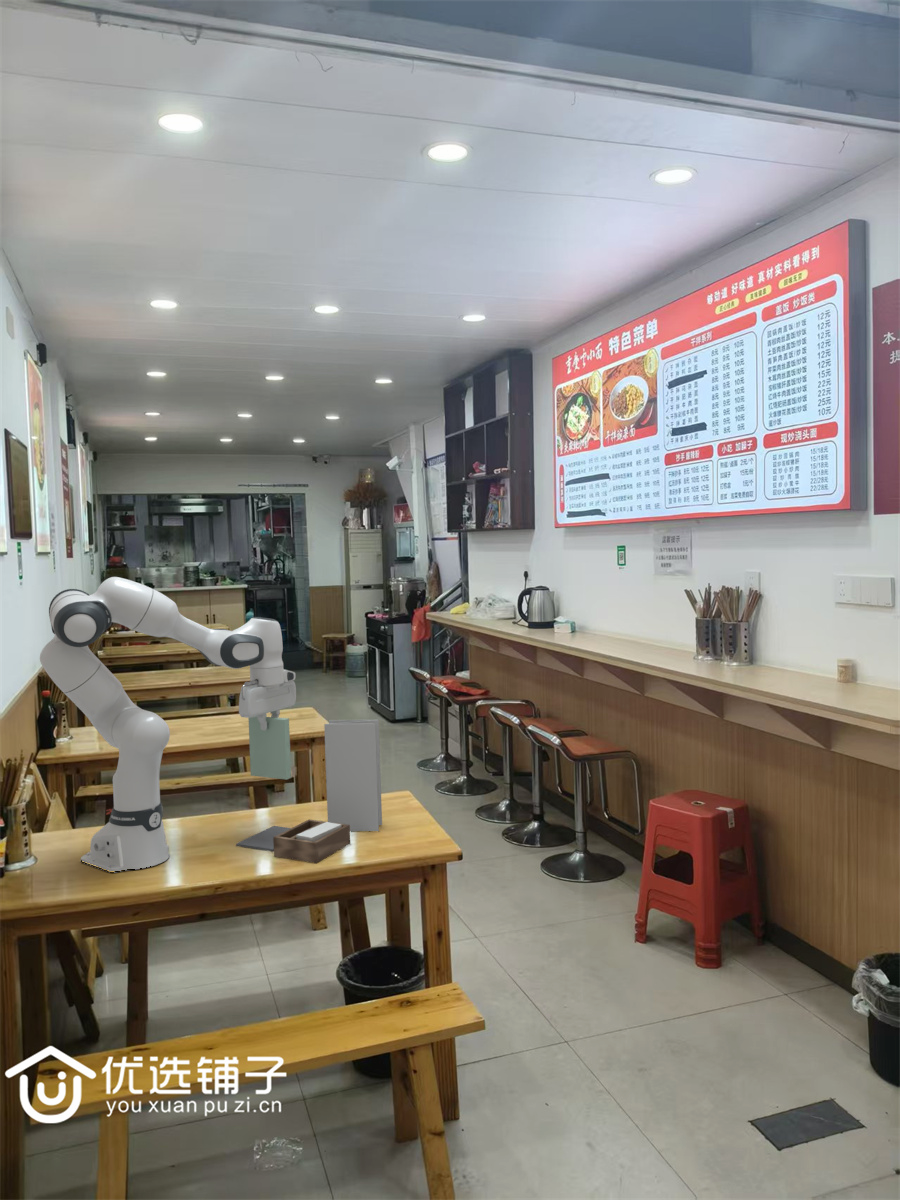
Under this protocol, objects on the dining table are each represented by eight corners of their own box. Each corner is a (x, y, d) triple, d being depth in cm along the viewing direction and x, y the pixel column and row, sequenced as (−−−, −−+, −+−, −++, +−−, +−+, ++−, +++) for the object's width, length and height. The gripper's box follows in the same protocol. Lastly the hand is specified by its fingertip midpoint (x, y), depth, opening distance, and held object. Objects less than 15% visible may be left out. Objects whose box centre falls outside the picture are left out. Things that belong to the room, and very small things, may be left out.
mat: (236, 845, 226) (236, 843, 226) (273, 827, 241) (273, 825, 241) (272, 851, 221) (272, 849, 221) (309, 832, 235) (309, 830, 235)
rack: (274, 856, 217) (273, 837, 217) (309, 837, 231) (309, 819, 231) (316, 863, 212) (315, 843, 211) (350, 843, 226) (349, 824, 225)
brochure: (382, 825, 240) (378, 719, 239) (378, 831, 235) (375, 723, 233) (332, 825, 242) (329, 720, 240) (328, 831, 236) (324, 724, 234)
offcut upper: (296, 846, 217) (296, 834, 216) (326, 833, 227) (326, 821, 227) (311, 849, 214) (311, 837, 214) (341, 835, 224) (341, 824, 224)
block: (286, 779, 226) (284, 719, 225) (250, 775, 232) (248, 717, 231) (291, 777, 228) (288, 718, 227) (255, 773, 233) (253, 715, 233)
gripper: (251, 683, 218) (253, 737, 218) (299, 672, 236) (301, 722, 237) (231, 682, 220) (234, 735, 221) (280, 671, 239) (282, 720, 239)
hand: (269, 728), depth 229 cm, fingers closed on block, 2 cm apart
